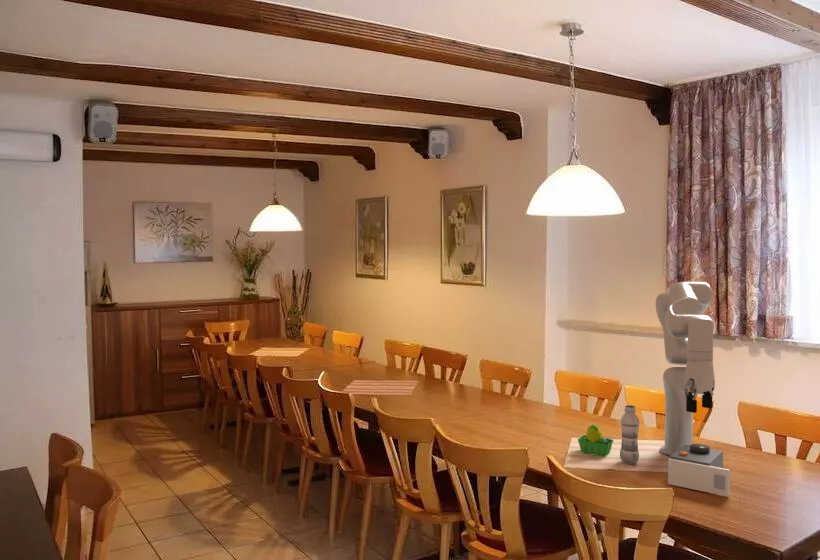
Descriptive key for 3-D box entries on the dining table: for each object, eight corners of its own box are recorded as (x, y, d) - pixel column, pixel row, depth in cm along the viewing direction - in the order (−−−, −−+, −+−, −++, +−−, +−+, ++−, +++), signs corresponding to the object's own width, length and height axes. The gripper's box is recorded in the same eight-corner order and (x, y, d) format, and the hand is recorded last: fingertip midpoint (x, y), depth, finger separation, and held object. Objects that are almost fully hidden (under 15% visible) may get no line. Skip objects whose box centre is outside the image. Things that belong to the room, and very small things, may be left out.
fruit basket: (614, 453, 255) (614, 422, 255) (606, 459, 248) (606, 428, 247) (584, 448, 262) (584, 418, 261) (575, 454, 254) (575, 423, 254)
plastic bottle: (635, 459, 247) (635, 404, 246) (641, 465, 241) (642, 408, 239) (617, 459, 247) (617, 404, 246) (623, 466, 240) (624, 408, 239)
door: (669, 482, 222) (669, 458, 222) (729, 495, 211) (730, 469, 211) (667, 484, 221) (667, 459, 220) (727, 497, 210) (728, 471, 209)
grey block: (684, 470, 235) (685, 439, 235) (722, 478, 228) (723, 446, 227) (669, 483, 223) (670, 451, 222) (708, 492, 215) (709, 458, 215)
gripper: (702, 352, 229) (701, 404, 229) (674, 357, 218) (674, 411, 218) (724, 355, 223) (724, 408, 224) (697, 360, 212) (696, 415, 213)
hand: (699, 409), depth 221 cm, fingers open, 9 cm apart
